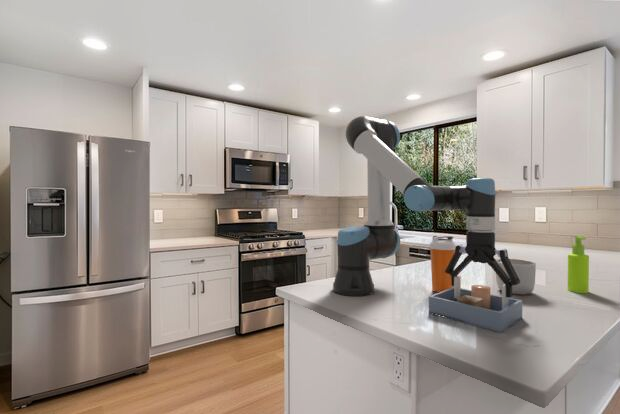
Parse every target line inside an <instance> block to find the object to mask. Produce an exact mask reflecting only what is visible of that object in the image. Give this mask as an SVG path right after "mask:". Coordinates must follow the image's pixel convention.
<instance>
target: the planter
mask: <svg viewBox="0 0 620 414" xmlns="http://www.w3.org/2000/svg"><path fill="white" fill-rule="evenodd" d="M495 260H496V261H497V263H498V264H499V265H500V267H501V268H502V269H503V270H504V272H505V273H506V274H507V275H508V273H507V271H506V269H505V267H504V265H503V263H502V261H501V259H500V258H498V259H495ZM509 260H510V262H511V264H512V266H513V268H514V270H515V272H516V274H517V276H518V278H519V280H520V283H519V284H517V285H513V286H512V295H529V294H531V293H533V291H534V290H535V284H536V274H537V273H536V270H537V269H536V268H537V267H536V266H537V264H536V262H534V261H532V260H526V259H518V258H509ZM508 277H509V275H508ZM509 278H510V277H509ZM495 280H496V285H497V288H498V289H499V290H501V291H502V285H505V284H504V282H503V281H502V280H501V279H500V277H499V276H498V275H497V274H496V273H495Z"/></svg>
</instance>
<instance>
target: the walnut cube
mask: <svg viewBox="0 0 620 414" xmlns="http://www.w3.org/2000/svg"><path fill="white" fill-rule="evenodd" d="M457 302H459V303H464V304H468V305H472V306H477V307H481V308H483V299H482V298H477V297H472V296H467V295H464V296H462V297H459V298H457Z"/></svg>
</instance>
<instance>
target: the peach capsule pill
mask: <svg viewBox="0 0 620 414" xmlns="http://www.w3.org/2000/svg"><path fill="white" fill-rule="evenodd" d="M470 290H471V296H472V297H477V298H482V299H483V308H485V309H490V294H491V287H490V286H488V285H483V284H473V285H471V289H470Z"/></svg>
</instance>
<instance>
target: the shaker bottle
mask: <svg viewBox="0 0 620 414" xmlns="http://www.w3.org/2000/svg"><path fill="white" fill-rule="evenodd" d="M454 238H455V237H454V236H450V235H447V236H445V235H444V236H437V235H433V237H432V240H431V241H430V242H429V250H430V268H431V269H430V271H431V287H432V288H431V290H432V291H433V290H434V291H433V292H435V291H437V292H436V293H438V292H442V291H444V290H447V289H450V288H452V287H454V286H452V285H451V275H450V274H448V273H446V272H445V270H446V268H447V266H448V265H449V263H450V261H451V259H452V257H453V255H454V253H455V248H456V246H457V244H456V243H455V241H453V239H454ZM454 270H455V268H454V269H453V271H454Z"/></svg>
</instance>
